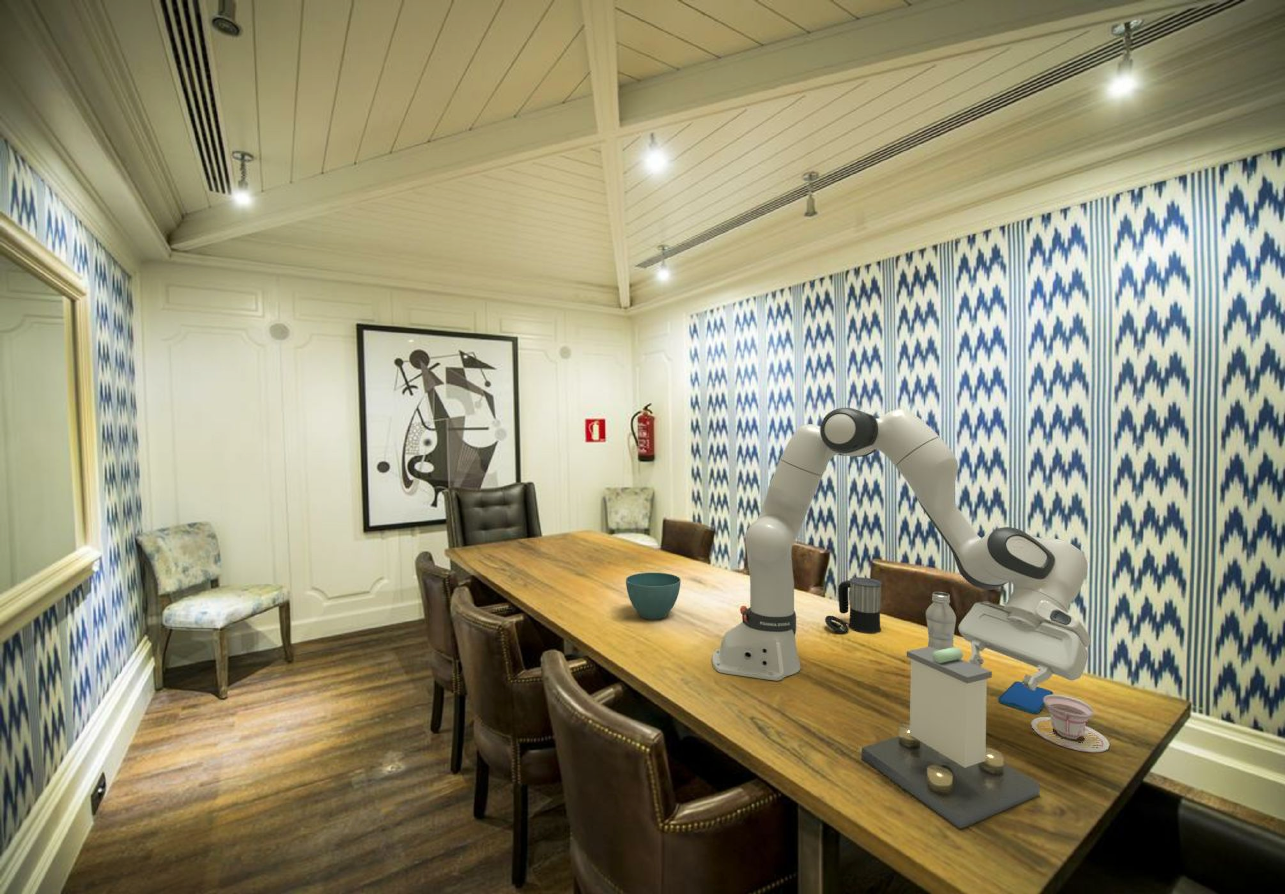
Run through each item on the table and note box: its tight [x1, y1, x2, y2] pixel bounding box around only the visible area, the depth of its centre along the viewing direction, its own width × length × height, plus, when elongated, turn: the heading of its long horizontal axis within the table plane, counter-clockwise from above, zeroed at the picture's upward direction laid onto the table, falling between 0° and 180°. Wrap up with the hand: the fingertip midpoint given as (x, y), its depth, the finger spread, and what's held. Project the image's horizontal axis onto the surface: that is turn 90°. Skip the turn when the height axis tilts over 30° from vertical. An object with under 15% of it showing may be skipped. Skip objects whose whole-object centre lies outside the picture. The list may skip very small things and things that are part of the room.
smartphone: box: [997, 681, 1054, 715], centre depth 118 cm, size 7×1×15 cm
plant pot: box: [625, 572, 682, 621], centre depth 174 cm, size 18×18×12 cm
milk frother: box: [824, 576, 882, 634], centre depth 161 cm, size 14×16×15 cm
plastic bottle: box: [925, 591, 957, 650], centre depth 130 cm, size 6×7×20 cm
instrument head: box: [906, 646, 993, 768], centre depth 91 cm, size 6×11×20 cm, turn 23°
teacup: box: [1030, 693, 1110, 754], centre depth 103 cm, size 12×12×6 cm
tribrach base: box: [861, 723, 1041, 830], centre depth 91 cm, size 19×19×4 cm
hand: (999, 675), depth 97 cm, fingers open, 8 cm apart
